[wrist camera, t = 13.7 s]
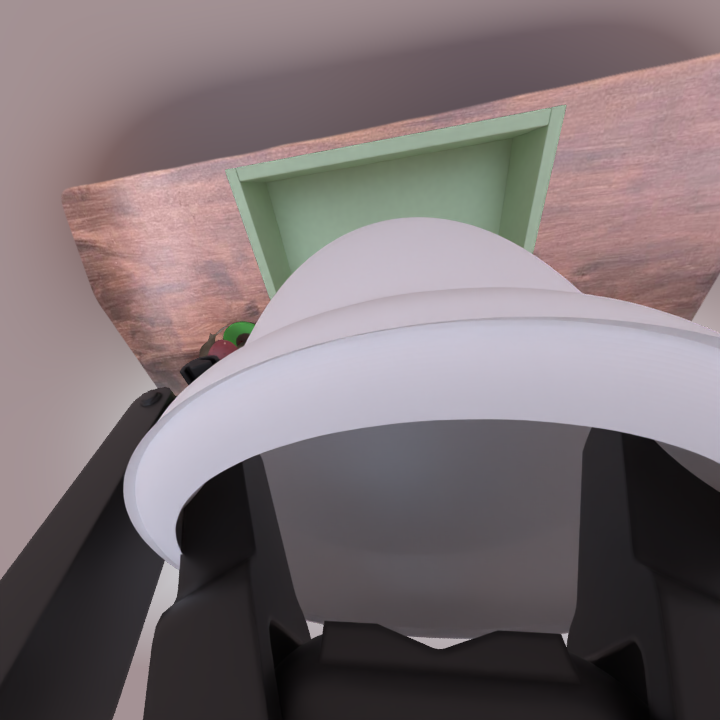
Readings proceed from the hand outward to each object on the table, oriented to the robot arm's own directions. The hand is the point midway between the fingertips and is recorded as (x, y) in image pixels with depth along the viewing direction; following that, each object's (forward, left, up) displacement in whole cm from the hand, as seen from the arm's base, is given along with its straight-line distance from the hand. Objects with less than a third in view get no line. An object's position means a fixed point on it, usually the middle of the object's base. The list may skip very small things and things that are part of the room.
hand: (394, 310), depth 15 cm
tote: (0, 0, -14) cm, 14 cm away
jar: (0, 0, -3) cm, 3 cm away
